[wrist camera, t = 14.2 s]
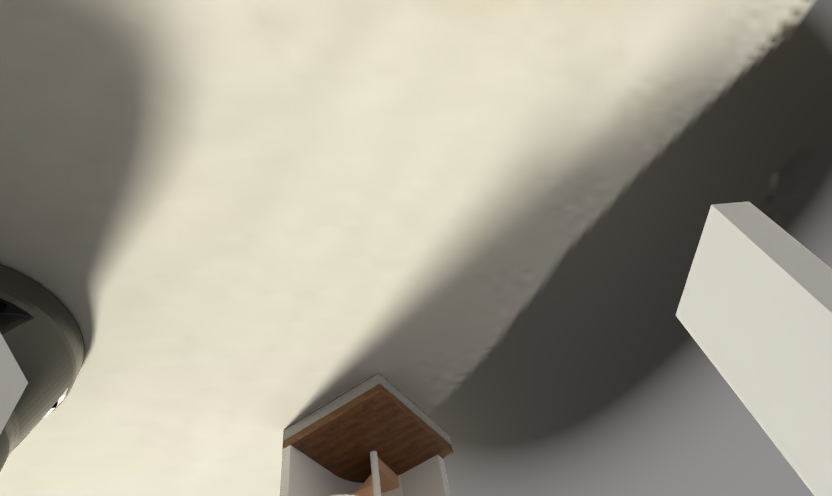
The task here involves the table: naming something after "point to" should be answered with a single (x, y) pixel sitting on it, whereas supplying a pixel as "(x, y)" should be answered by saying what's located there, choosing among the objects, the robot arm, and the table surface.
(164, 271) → the table surface
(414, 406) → the white notched tower
